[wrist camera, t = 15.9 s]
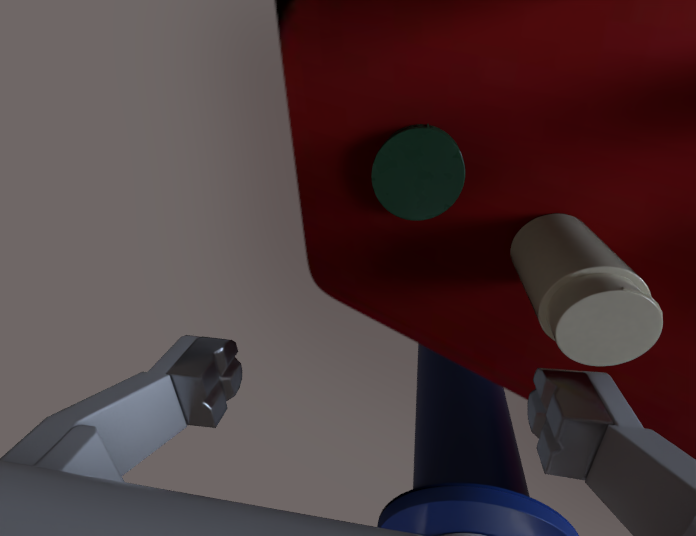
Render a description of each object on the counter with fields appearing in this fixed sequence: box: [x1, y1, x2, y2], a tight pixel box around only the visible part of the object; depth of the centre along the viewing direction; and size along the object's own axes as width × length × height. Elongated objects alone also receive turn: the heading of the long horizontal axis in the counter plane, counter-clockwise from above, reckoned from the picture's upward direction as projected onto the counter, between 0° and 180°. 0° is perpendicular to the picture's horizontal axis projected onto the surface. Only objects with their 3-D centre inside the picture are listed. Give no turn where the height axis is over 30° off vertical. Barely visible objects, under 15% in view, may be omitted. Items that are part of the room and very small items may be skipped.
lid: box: [371, 124, 465, 220], centre depth 28 cm, size 7×7×2 cm
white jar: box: [510, 214, 663, 366], centre depth 25 cm, size 6×6×11 cm
